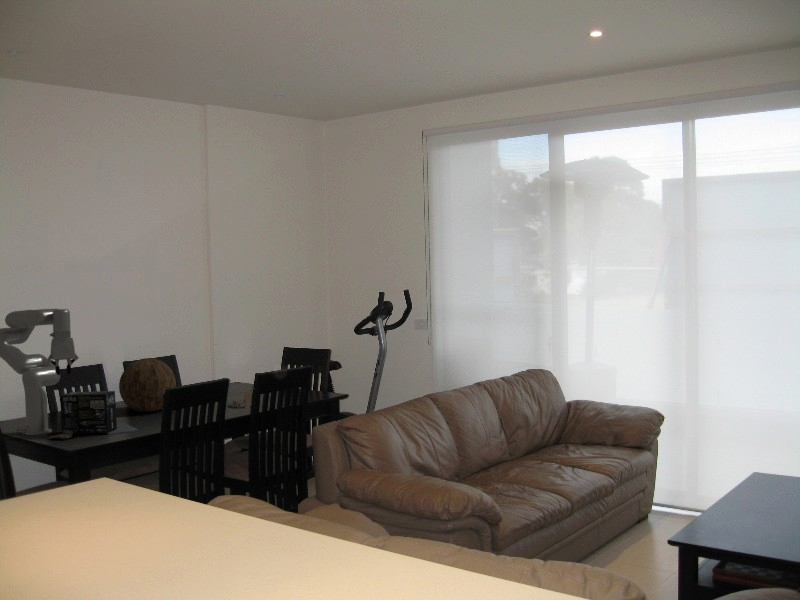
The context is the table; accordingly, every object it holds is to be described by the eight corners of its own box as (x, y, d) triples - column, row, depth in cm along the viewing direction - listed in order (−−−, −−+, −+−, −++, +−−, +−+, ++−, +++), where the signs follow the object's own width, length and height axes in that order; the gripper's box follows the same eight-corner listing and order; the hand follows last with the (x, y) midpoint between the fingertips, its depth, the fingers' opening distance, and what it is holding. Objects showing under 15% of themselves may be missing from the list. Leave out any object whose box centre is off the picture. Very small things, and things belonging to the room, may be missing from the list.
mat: (108, 434, 370) (108, 433, 370) (95, 427, 390) (95, 426, 390) (138, 431, 378) (138, 429, 378) (123, 424, 398) (123, 423, 398)
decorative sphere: (163, 417, 417) (161, 360, 417) (110, 417, 421) (108, 361, 420) (185, 407, 447) (183, 355, 447) (135, 408, 451) (133, 356, 450)
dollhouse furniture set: (245, 405, 453) (245, 386, 453) (259, 407, 444) (259, 388, 444) (226, 408, 444) (226, 388, 444) (240, 410, 435) (240, 390, 435)
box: (117, 428, 381) (115, 390, 380) (108, 433, 371) (105, 393, 370) (72, 430, 383) (69, 391, 382) (61, 434, 373) (58, 395, 372)
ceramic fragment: (63, 436, 359) (47, 432, 363) (62, 443, 359) (47, 439, 364) (81, 432, 369) (66, 427, 373) (81, 438, 369) (66, 434, 373)
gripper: (44, 336, 362) (45, 376, 362) (82, 334, 371) (83, 373, 372) (41, 336, 368) (42, 375, 368) (78, 334, 377) (80, 372, 378)
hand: (63, 373), depth 370 cm, fingers open, 3 cm apart
